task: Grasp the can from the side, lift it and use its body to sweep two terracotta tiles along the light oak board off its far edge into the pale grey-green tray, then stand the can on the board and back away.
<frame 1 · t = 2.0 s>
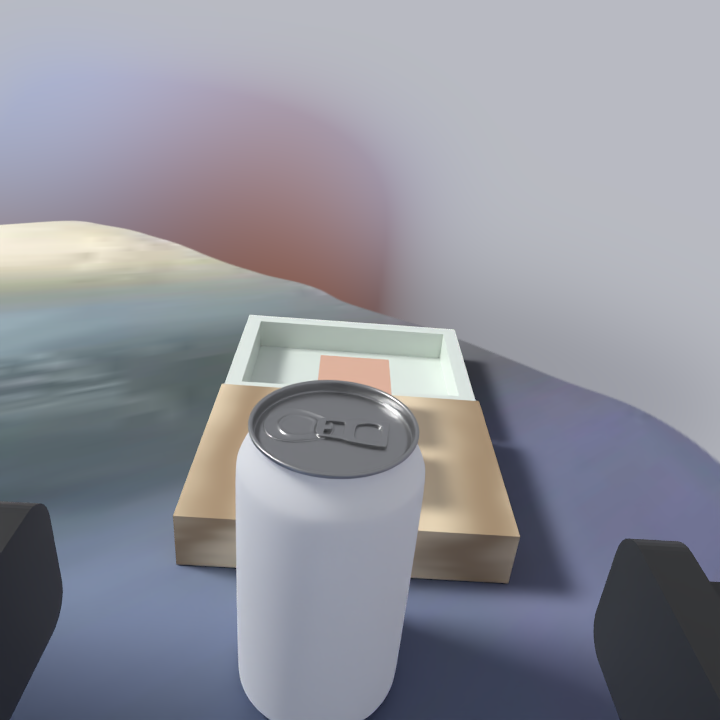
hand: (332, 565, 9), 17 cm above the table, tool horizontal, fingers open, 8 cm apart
tray: (349, 386, 47), on the table
board: (346, 493, 37), on the table
can: (316, 667, 27), on the table
tile b: (350, 419, 38), point 3 cm above the table, touching board
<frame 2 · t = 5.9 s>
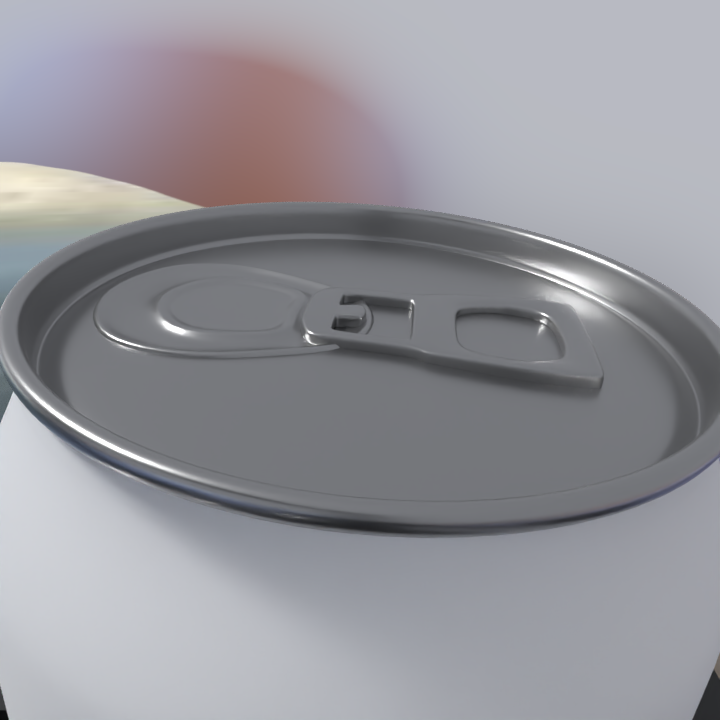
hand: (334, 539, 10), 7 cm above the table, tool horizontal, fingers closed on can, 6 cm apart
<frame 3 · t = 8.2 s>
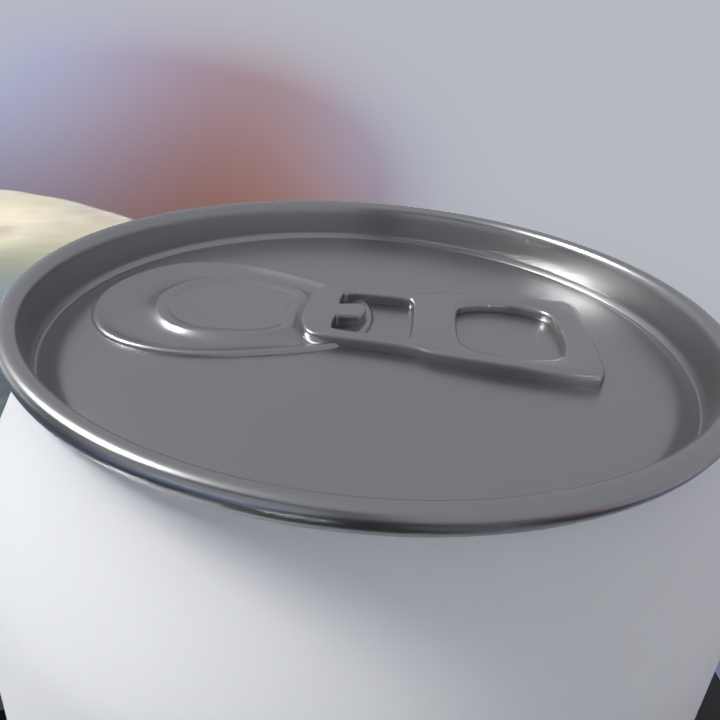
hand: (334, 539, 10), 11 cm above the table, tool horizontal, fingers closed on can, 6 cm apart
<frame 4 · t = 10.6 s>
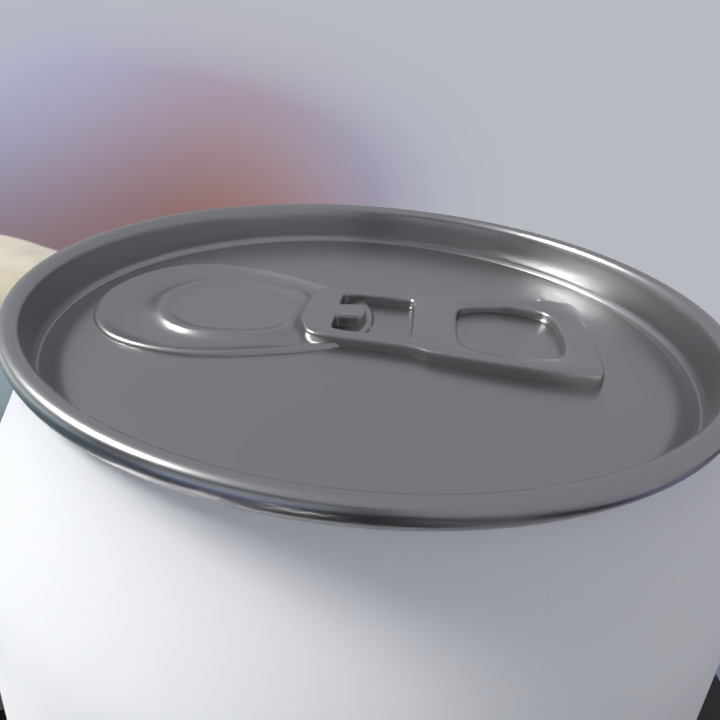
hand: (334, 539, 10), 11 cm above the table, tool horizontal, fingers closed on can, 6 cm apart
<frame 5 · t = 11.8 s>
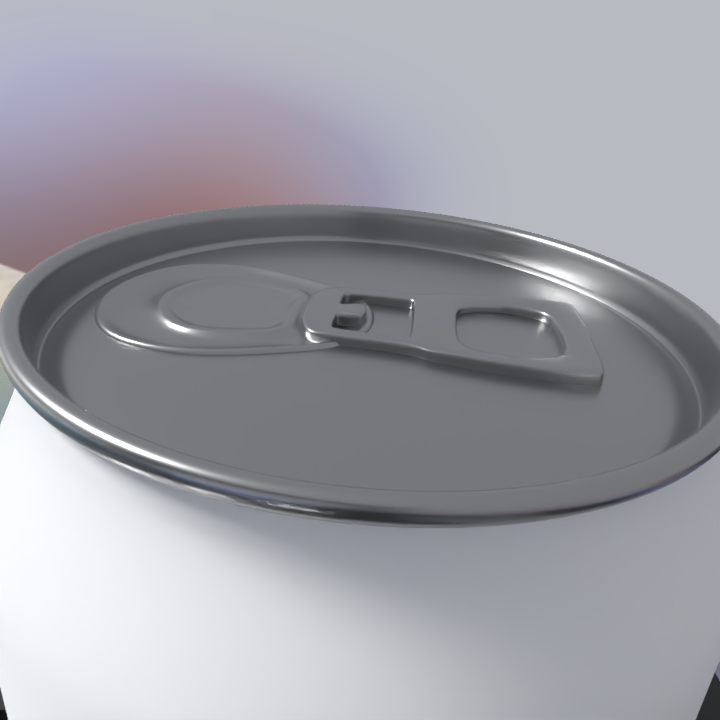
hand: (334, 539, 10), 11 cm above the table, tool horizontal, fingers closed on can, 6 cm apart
when the fingers open (11 cm above the table, at t = 13.8 s): can stays where it is, resting on board.
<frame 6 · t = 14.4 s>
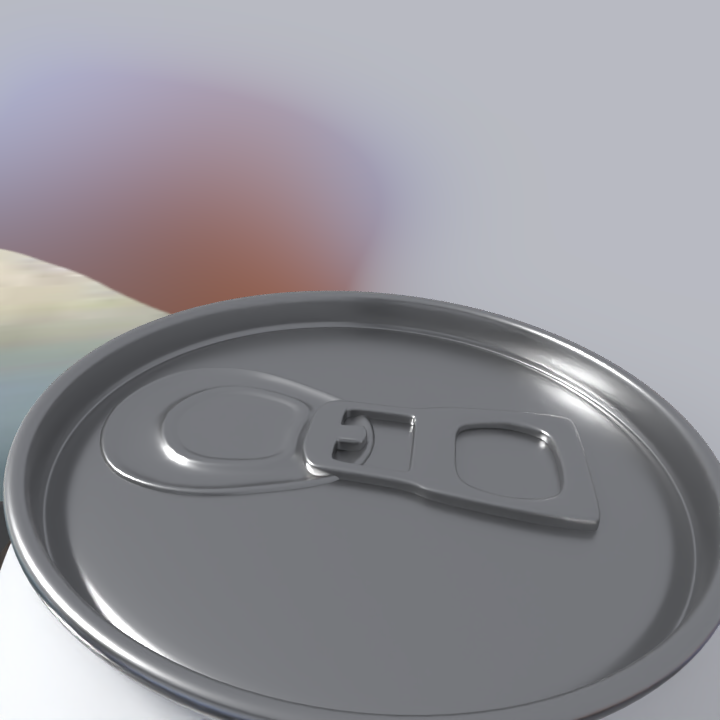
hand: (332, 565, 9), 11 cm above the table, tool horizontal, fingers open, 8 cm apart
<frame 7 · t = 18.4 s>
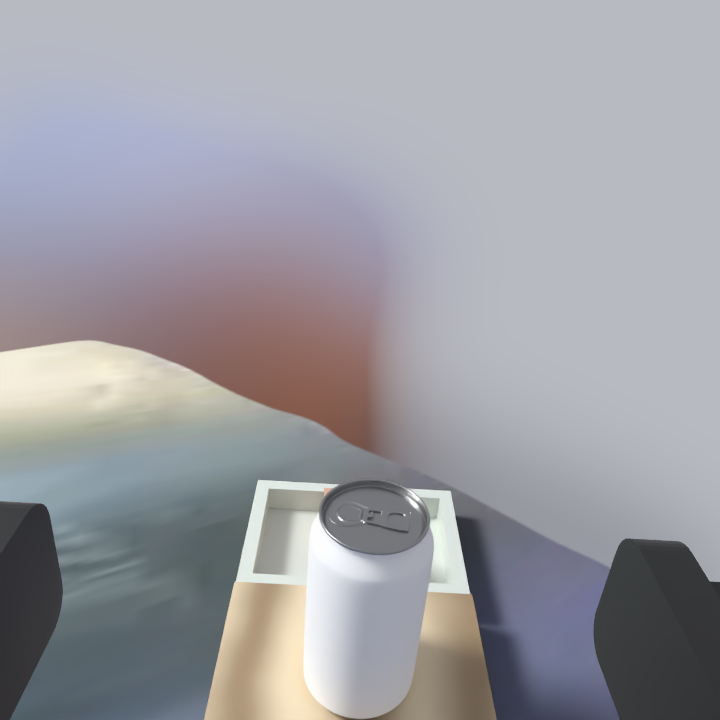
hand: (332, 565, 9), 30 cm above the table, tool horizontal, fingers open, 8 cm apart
tray: (352, 557, 51), on the table
board: (350, 698, 40), on the table
can: (357, 673, 39), point 3 cm above the table, touching board
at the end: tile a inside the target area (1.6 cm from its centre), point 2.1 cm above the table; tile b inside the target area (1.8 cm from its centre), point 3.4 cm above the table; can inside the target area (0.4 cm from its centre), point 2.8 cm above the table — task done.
